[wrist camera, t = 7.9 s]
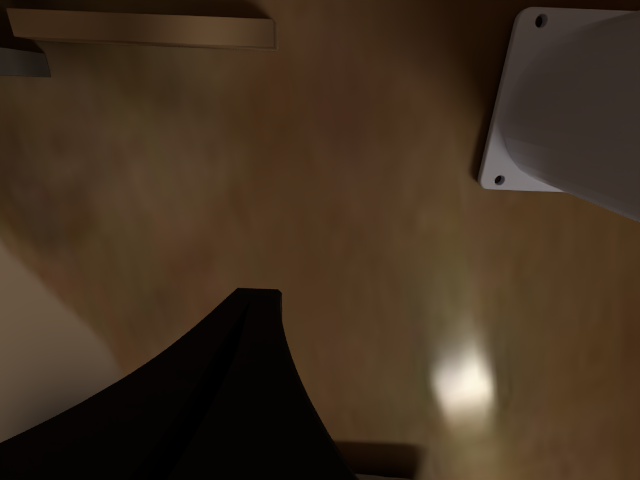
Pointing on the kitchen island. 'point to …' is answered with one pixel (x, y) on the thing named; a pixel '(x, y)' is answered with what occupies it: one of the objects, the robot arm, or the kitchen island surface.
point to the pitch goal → (129, 33)
